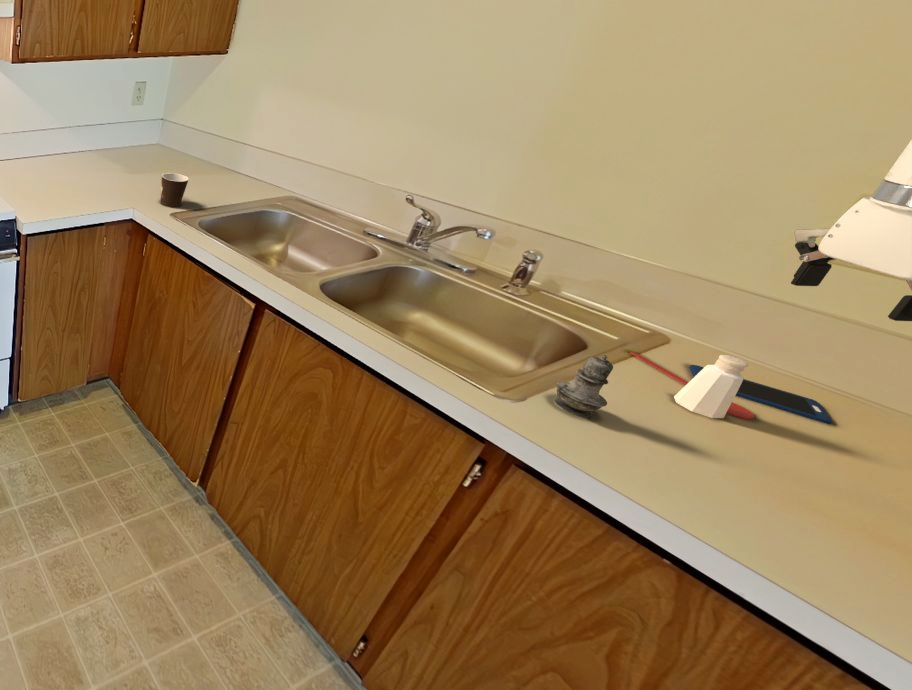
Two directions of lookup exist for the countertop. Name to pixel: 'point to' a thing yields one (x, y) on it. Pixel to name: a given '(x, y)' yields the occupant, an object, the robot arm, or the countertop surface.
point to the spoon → (733, 409)
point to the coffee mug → (173, 189)
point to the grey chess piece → (585, 388)
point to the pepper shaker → (713, 387)
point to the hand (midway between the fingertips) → (850, 301)
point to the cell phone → (778, 399)
